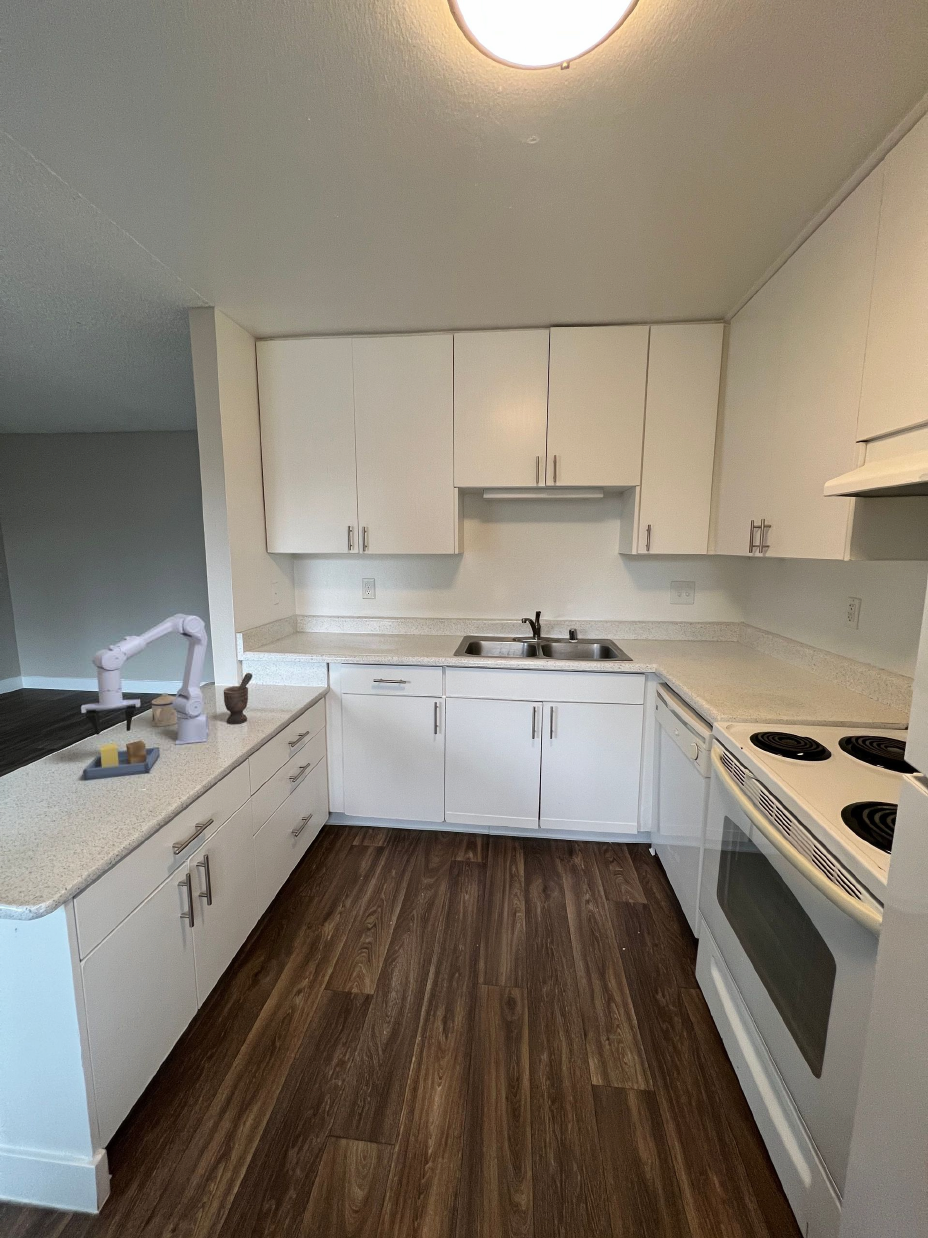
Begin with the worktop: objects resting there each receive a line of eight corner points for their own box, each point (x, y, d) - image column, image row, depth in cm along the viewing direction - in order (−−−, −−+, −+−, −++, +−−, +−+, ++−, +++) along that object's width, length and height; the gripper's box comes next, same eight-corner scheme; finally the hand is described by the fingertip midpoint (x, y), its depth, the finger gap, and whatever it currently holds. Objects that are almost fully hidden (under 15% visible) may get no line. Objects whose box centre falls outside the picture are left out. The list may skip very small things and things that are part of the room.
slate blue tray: (159, 755, 155) (159, 747, 155) (148, 773, 143) (148, 763, 143) (100, 762, 150) (99, 753, 150) (83, 780, 138) (82, 770, 138)
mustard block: (118, 761, 148) (116, 743, 148) (118, 766, 145) (117, 747, 144) (102, 764, 146) (100, 745, 145) (102, 769, 143) (100, 750, 142)
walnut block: (142, 758, 151) (141, 740, 150) (146, 762, 148) (145, 743, 147) (127, 762, 148) (126, 744, 147) (131, 766, 145) (129, 747, 144)
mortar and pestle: (260, 717, 193) (258, 669, 190) (252, 725, 184) (250, 674, 182) (230, 717, 192) (228, 668, 190) (221, 725, 184) (218, 674, 181)
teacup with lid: (158, 719, 189) (156, 690, 187) (183, 718, 191) (182, 689, 189) (144, 730, 177) (142, 699, 176) (171, 729, 179) (169, 698, 177)
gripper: (140, 683, 154) (143, 724, 156) (83, 688, 147) (87, 731, 149) (137, 688, 148) (140, 731, 149) (77, 694, 141) (81, 738, 143)
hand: (113, 731), depth 149 cm, fingers open, 7 cm apart
